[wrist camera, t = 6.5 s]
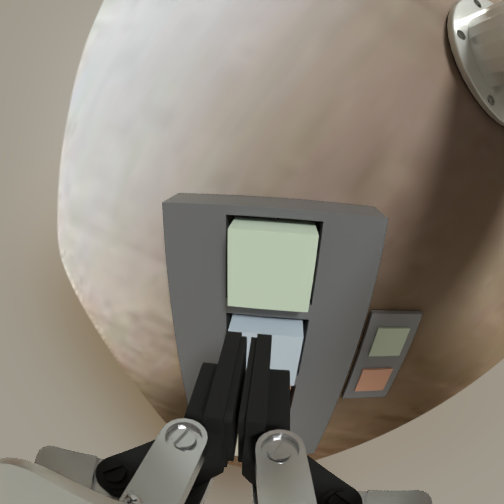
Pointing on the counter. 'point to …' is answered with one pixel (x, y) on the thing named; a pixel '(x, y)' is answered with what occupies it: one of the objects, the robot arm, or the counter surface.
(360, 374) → the card
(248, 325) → the blue key
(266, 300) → the sage key
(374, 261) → the keyguard frame
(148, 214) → the counter surface
